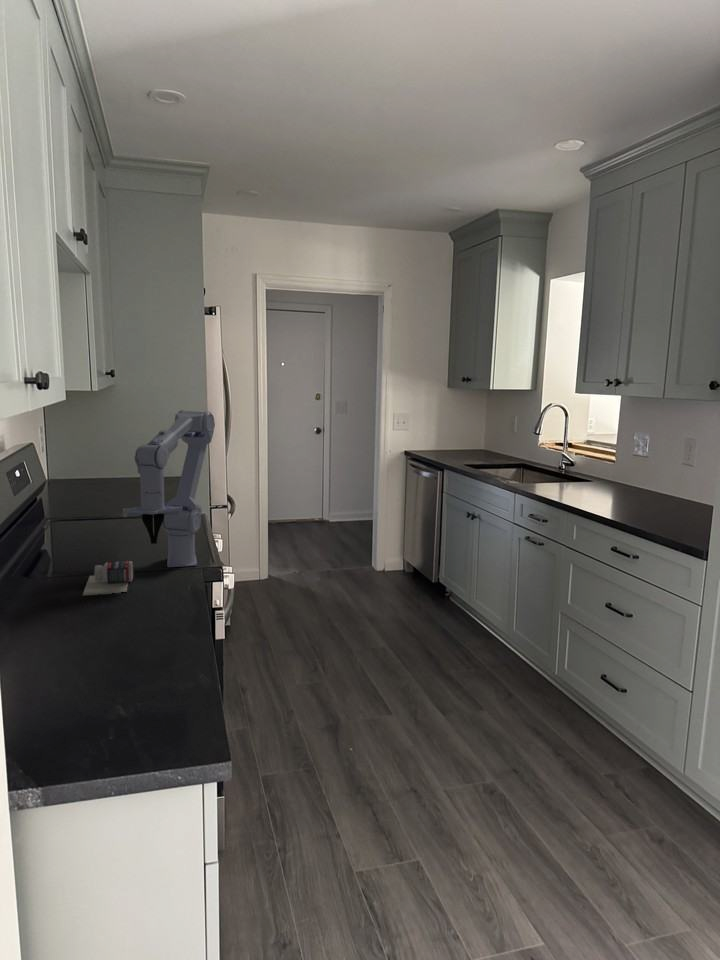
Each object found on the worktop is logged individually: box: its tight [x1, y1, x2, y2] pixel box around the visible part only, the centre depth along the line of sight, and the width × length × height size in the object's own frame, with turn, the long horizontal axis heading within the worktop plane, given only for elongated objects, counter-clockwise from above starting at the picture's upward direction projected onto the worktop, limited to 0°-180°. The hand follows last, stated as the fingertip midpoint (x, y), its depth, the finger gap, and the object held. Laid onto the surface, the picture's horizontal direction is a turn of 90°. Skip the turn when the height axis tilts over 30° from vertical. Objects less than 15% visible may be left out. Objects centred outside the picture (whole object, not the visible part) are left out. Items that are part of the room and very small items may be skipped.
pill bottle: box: [93, 560, 134, 583], centre depth 166 cm, size 5×5×9 cm
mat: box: [82, 575, 129, 596], centre depth 165 cm, size 14×10×1 cm
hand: (154, 542), depth 168 cm, fingers closed
